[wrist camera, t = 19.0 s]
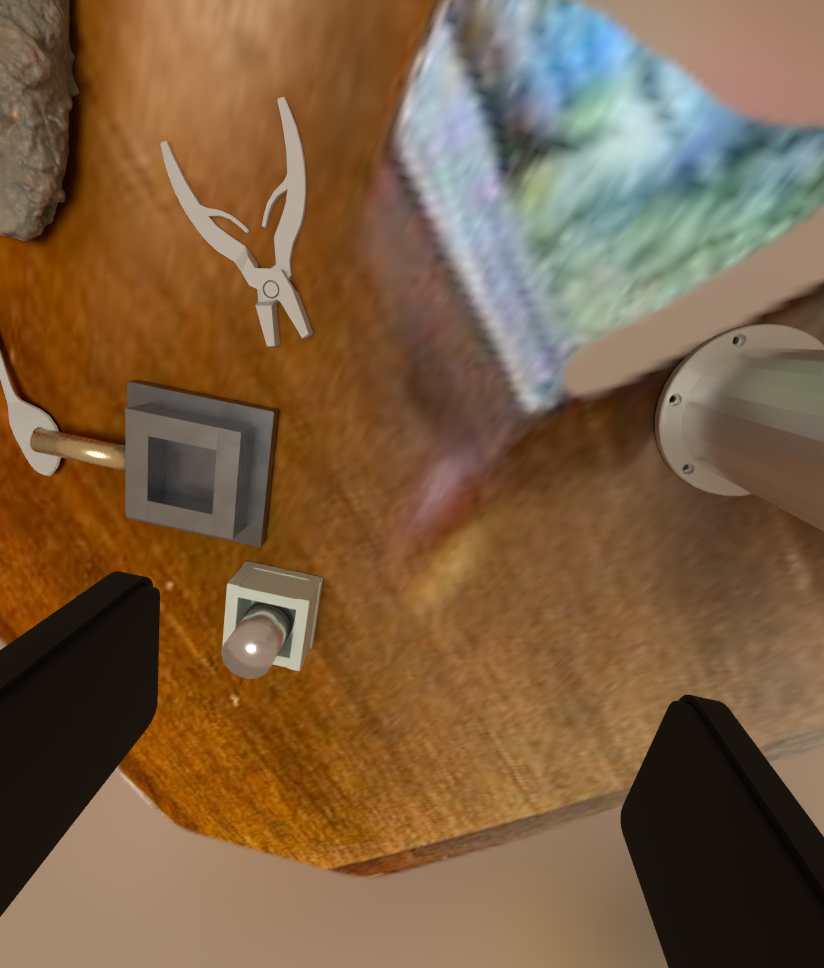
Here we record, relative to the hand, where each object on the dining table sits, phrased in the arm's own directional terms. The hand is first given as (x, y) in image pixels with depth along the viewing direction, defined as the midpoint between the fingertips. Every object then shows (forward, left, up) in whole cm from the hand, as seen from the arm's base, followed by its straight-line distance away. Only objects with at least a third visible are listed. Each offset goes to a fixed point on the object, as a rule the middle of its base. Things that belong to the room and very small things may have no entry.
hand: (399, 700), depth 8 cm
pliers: (+16, -10, -31) cm, 36 cm away
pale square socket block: (+11, +20, -30) cm, 38 cm away
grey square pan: (+22, +8, -30) cm, 38 cm away
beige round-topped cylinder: (+11, +20, -30) cm, 37 cm away
